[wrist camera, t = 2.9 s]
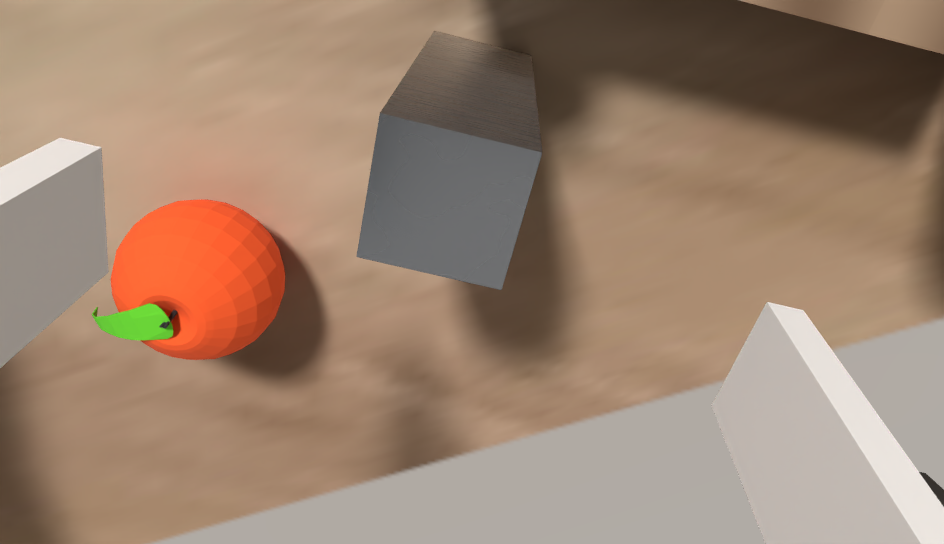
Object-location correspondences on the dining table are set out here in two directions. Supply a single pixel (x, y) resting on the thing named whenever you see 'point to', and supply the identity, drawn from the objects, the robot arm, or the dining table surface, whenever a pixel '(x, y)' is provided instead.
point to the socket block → (875, 18)
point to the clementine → (195, 281)
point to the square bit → (454, 163)
